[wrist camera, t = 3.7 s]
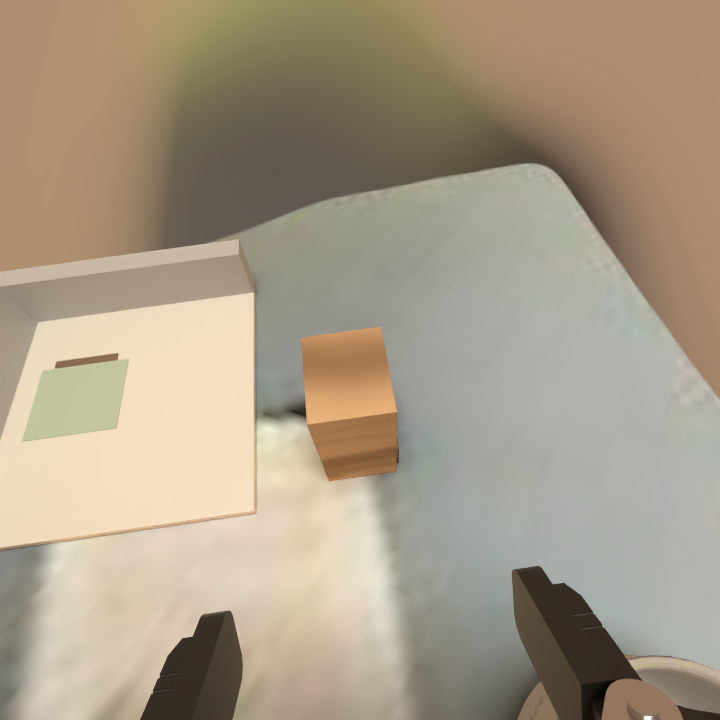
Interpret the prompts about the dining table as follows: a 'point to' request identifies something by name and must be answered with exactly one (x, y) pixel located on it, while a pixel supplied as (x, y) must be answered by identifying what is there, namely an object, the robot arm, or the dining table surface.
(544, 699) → the teacup
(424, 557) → the dining table surface
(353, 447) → the wood block
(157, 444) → the platform
